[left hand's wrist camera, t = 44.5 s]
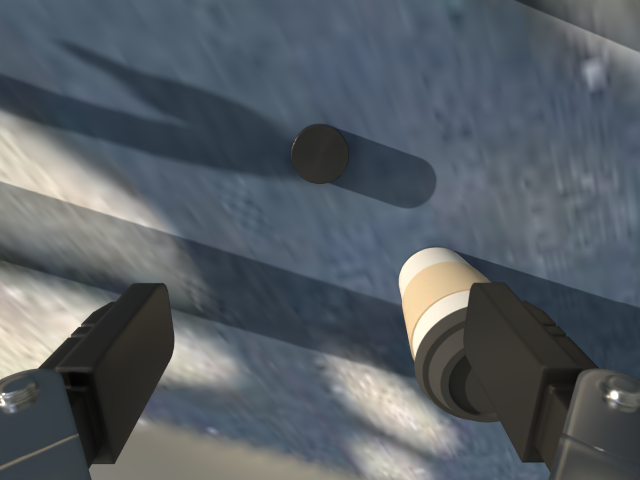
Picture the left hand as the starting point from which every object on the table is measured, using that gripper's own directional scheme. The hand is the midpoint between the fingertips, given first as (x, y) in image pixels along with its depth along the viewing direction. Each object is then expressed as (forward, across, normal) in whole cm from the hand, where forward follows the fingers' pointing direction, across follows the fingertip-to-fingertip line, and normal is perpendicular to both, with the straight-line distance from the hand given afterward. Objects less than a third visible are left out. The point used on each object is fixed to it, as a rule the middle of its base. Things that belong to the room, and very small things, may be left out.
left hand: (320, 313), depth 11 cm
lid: (+25, 0, 0) cm, 25 cm away
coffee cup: (+27, +11, -12) cm, 31 cm away
